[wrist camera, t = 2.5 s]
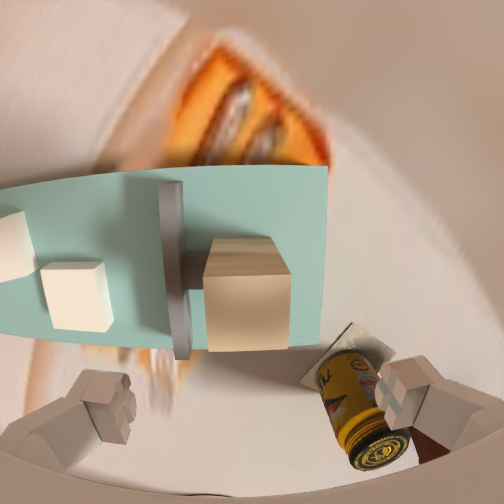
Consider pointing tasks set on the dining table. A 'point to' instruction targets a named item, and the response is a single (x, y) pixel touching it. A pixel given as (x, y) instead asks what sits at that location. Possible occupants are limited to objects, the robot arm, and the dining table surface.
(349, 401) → the condiment
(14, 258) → the tile
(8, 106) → the dining table surface
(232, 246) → the scraper
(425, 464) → the robot arm
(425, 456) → the muffin
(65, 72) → the dining table surface
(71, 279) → the tile
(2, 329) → the board
